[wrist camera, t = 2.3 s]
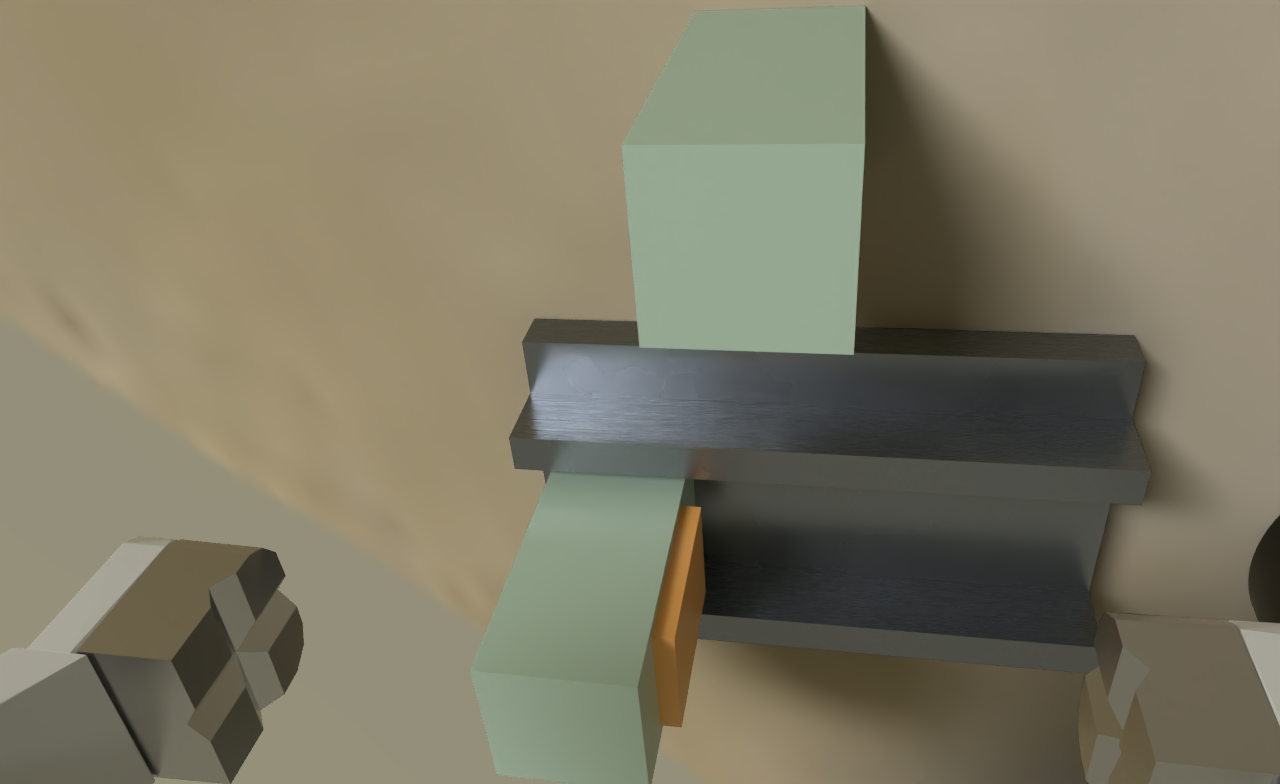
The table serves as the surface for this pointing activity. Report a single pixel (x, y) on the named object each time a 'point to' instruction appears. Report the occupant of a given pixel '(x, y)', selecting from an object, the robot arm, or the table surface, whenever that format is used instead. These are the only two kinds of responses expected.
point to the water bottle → (1266, 576)
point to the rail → (867, 478)
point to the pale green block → (751, 184)
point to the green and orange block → (594, 630)
